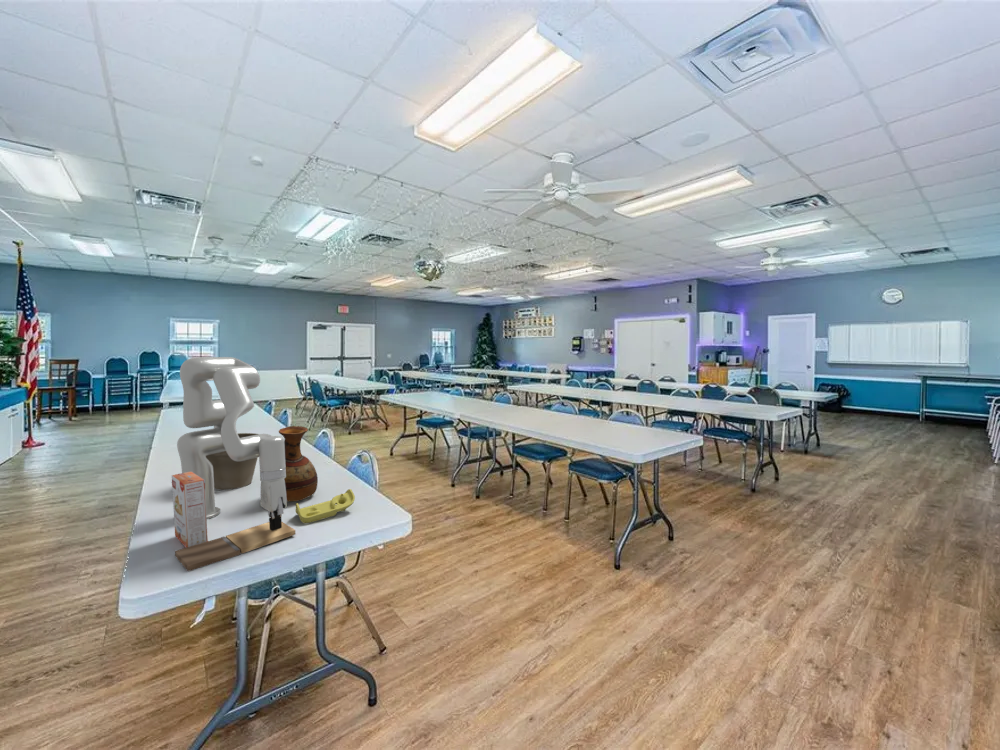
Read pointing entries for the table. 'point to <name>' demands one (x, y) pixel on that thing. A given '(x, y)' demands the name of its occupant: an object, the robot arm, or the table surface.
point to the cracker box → (189, 508)
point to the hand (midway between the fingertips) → (275, 528)
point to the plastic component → (325, 508)
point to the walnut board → (206, 553)
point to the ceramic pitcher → (297, 466)
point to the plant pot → (232, 469)
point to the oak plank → (259, 536)
